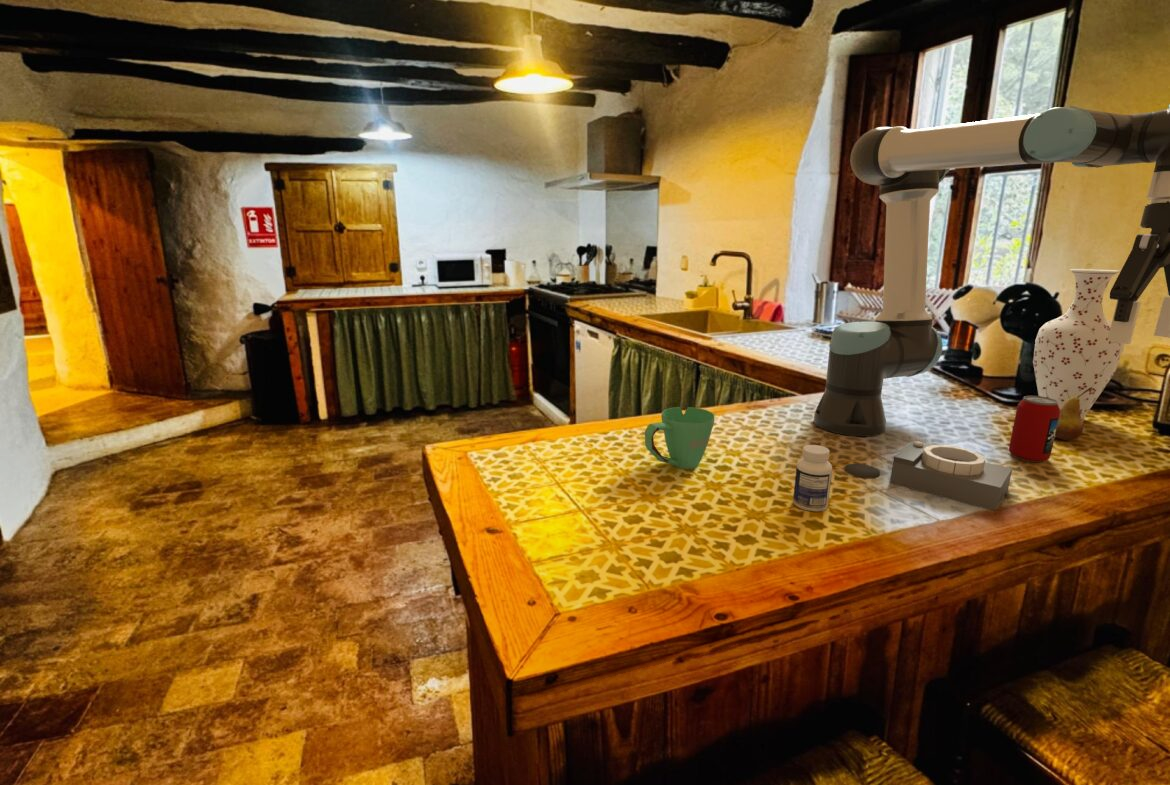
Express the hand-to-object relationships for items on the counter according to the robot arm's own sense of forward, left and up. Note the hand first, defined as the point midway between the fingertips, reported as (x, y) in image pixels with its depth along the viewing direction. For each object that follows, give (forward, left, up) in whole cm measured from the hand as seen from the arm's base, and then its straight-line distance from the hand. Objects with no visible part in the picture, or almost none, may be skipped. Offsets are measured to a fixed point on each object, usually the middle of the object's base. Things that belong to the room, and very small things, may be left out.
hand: (1142, 339), depth 97 cm
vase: (-22, +44, -27) cm, 56 cm away
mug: (-47, -56, -27) cm, 78 cm away
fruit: (-15, +26, -27) cm, 40 cm away
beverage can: (-14, +7, -27) cm, 31 cm away
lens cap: (-27, -28, -27) cm, 48 cm away
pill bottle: (-23, -48, -27) cm, 60 cm away
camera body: (-15, -21, -27) cm, 37 cm away
